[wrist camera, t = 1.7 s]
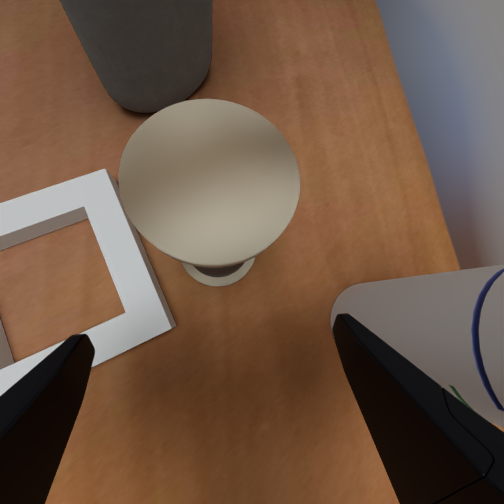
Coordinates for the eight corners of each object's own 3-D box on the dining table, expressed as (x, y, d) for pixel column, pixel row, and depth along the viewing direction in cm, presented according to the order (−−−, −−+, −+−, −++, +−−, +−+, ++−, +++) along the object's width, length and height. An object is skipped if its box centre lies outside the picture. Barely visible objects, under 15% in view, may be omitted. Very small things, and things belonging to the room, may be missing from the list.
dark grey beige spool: (269, 258, 22) (333, 200, 9) (207, 302, 21) (185, 302, 8) (227, 201, 23) (235, 74, 10) (165, 239, 21) (81, 147, 8)
